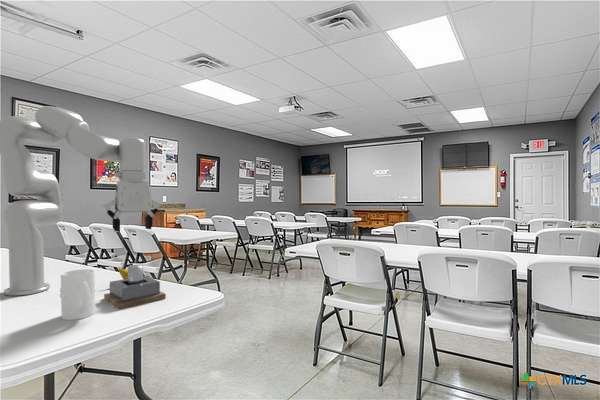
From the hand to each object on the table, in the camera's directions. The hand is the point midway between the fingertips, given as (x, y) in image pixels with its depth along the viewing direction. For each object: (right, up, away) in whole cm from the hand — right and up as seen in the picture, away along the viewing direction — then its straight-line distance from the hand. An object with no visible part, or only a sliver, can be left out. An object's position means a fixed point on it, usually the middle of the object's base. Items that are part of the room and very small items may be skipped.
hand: (133, 230), depth 111 cm
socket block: (0, -21, +1) cm, 21 cm away
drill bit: (-10, -22, +18) cm, 30 cm away
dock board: (0, -22, +1) cm, 22 cm away
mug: (-7, -23, -16) cm, 29 cm away
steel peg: (0, -21, +1) cm, 21 cm away
